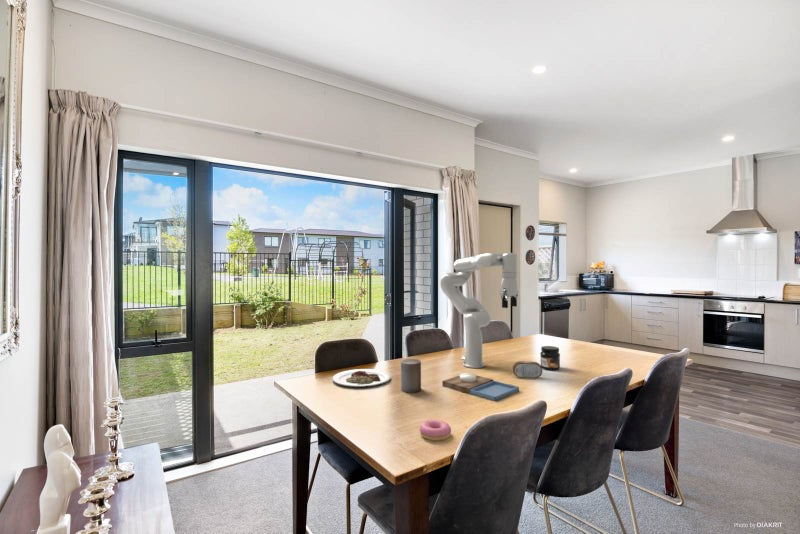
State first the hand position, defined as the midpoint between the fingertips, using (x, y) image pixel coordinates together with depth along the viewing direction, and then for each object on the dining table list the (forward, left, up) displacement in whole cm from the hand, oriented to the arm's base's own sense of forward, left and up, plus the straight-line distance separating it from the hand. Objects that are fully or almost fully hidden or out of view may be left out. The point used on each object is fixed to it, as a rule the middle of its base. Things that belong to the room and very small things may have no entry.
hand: (509, 307), depth 212 cm
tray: (+11, -32, -36) cm, 50 cm away
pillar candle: (-19, -57, -37) cm, 71 cm away
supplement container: (+10, +27, -37) cm, 46 cm away
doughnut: (+22, -86, -37) cm, 97 cm away
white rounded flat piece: (-4, -32, -33) cm, 46 cm away
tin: (+10, +1, -37) cm, 38 cm away
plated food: (-48, -64, -37) cm, 88 cm away
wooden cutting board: (-4, -32, -36) cm, 49 cm away
